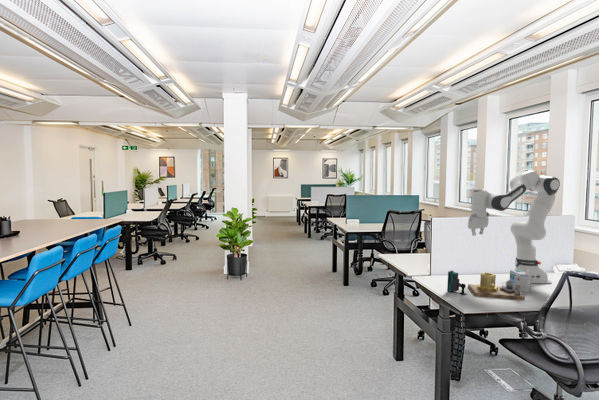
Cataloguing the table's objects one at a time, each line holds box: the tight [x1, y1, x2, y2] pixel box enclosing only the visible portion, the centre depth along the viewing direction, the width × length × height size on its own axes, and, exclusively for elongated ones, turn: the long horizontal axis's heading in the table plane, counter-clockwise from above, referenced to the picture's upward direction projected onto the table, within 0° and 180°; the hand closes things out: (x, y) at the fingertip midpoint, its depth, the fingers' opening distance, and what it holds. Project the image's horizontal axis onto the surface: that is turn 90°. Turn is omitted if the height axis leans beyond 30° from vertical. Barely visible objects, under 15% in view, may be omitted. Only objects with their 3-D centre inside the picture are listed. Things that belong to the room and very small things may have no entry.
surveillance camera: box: [446, 270, 468, 296], centre depth 223 cm, size 6×12×10 cm
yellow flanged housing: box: [477, 271, 499, 292], centre depth 226 cm, size 11×11×9 cm
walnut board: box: [467, 283, 526, 301], centre depth 224 cm, size 26×18×8 cm
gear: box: [499, 279, 515, 293], centre depth 223 cm, size 10×9×6 cm
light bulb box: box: [509, 269, 531, 292], centre depth 235 cm, size 11×7×11 cm, turn 3°
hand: (477, 234), depth 249 cm, fingers open, 8 cm apart
